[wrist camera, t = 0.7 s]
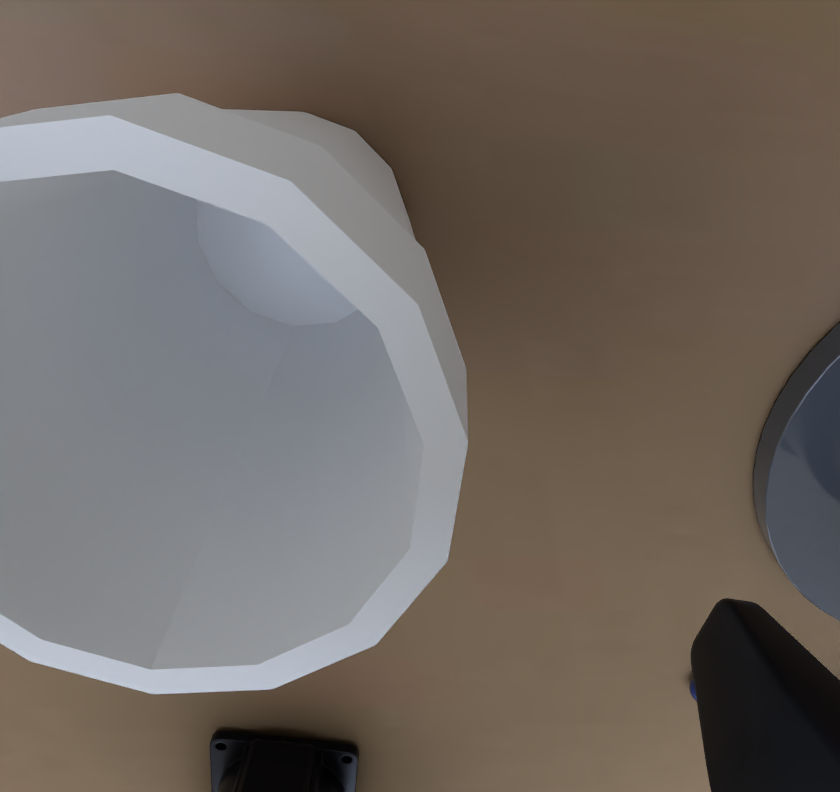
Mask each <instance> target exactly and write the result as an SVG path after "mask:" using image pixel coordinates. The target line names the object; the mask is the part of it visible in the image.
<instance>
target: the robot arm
mask: <svg viewBox="0 0 840 792" xmlns="http://www.w3.org/2000/svg"><path fill="white" fill-rule="evenodd" d="M691 665H692V672H693V679H694V685H695V692H696V699H697V705H698V712H699V719H700V726H701V732H702V739H703V746H704V752H705V759H706V766H707V771H708V777H709V782H710V788H711V792H840V681H839V680H838V679H837V678H836V677H835V676H834V675H833V674H832V673H831V672H830V671H829V670H828V669H827V668H826V667H825V666H823V665H822V664H821V663H820V662H819V661H818V660H817V659H816V658H815V657H814V656H813V655H812V654H811V653H810V652H809V651H808V650H806V649H805V648H804V647H803V646H802V645H801V644H800V643H799V642H798V641H797V640H796V639H795V638H794V637H793V636H792V635H791V634H789V633H788V632H787V631H786V630H785V629H784V628H783V627H782V626H781V625H780V624H779V623H778V622H777V621H776V620H775V619H774V618H772V617H771V616H770V615H769V614H768V613H767V612H766V611H765V610H764V609H763V608H762V607H760V606H759V605H758V604H756V603H753V602H749V601H742V600H735V599H728V598H726V599H722V600H720V601H719V602H717V604H716V605H715V606H714V608H713V610H712V611H711V613H710V615H709V616H708V618H707V620H706V621H705V623H704V625H703V626H702V628H701V630H700V631H699V633H698V635H697V636H696V638H695V640H694V642H693V645H692V649H691ZM358 758H359V750H358V749H357V748H356V747H355V746H353V745H349V744H341V743H332V742H322V741H313V740H304V739H294V738H285V737H275V736H266V735H257V734H247V733H238V732H228V731H218V732H215V733H214V734H213V736H212V739H211V742H210V763H211V786H212V792H355V788H356V778H357V768H358Z"/></svg>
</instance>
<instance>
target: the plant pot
mask: <svg viewBox="0 0 840 792" xmlns="http://www.w3.org/2000/svg"><path fill="white" fill-rule="evenodd" d="M753 486H754V503H755V508H756V513H757V518H758V522H759V525H760V528H761V530H762V533H763V535H764V538H765V540H766V542H767V544H768V546H769V548H770V549H771V551H772V553H773V554H774V556H775V558H776V560H777V561H778V563H779V565H780V566H781V568H782V569H783V571H784V573H785V574H786V576H787V578H788V579H789V580H790V582H791V583H792V584H793V585H794V586H795V587H796V588H797V589H798V590H799V592H800V593H801V594H802V595H803V596H804V597H805V598H807V599H808V600H809V601H810V602H812V603H813V604H814V605H815V606H817V607H818V608H819V609H820V610H822V611H824V612H825V613H827V614H829V615H830V616H832V617H834V618H836V619H837V620H839V621H840V323H839V324H838V325H836V326H835V327H834V328H833V329H832V330H831V331H830V332H829V333H828V334H827V335H826V336H825V337H824V338H823V339H822V340H821V341H820V342H819V343H818V344H817V345H816V346H815V347H814V348H813V350H812V351H811V352H810V353H809V354H808V356H807V357H806V358H805V359H804V361H803V362H802V363H801V364H800V366H799V367H798V368H797V369H796V371H795V372H794V373H793V375H792V376H791V377H790V379H789V381H788V382H787V384H786V386H785V387H784V389H783V390H782V392H781V394H780V395H779V397H778V399H777V400H776V402H775V404H774V406H773V409H772V411H771V413H770V415H769V417H768V420H767V422H766V424H765V426H764V429H763V433H762V436H761V439H760V443H759V446H758V449H757V454H756V461H755V468H754V475H753Z"/></svg>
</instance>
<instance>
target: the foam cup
mask: <svg viewBox="0 0 840 792" xmlns="http://www.w3.org/2000/svg"><path fill="white" fill-rule="evenodd" d="M467 447H468V416H467V384H466V367H465V364H464V361H463V358H462V355H461V352H460V350H459V347H458V344H457V341H456V338H455V335H454V332H453V329H452V326H451V324H450V321H449V318H448V315H447V312H446V309H445V306H444V303H443V301H442V298H441V295H440V292H439V289H438V286H437V283H436V280H435V277H434V275H433V272H432V269H431V266H430V263H429V260H428V257H427V254H426V252H425V249H424V248H423V247H422V246H421V245H420V244H419V243H418V242H417V241H416V240H415V236H414V233H413V230H412V226H411V223H410V220H409V217H408V214H407V211H406V208H405V205H404V203H403V200H402V197H401V194H400V191H399V188H398V185H397V183H396V180H395V177H394V174H393V171H392V169H391V167H390V166H389V165H388V164H387V163H386V162H385V161H384V160H383V159H382V158H381V157H380V156H379V155H378V154H377V153H376V152H375V151H374V150H373V149H372V148H371V147H370V146H369V145H368V144H367V143H366V142H365V141H364V139H363V138H362V137H361V136H360V135H359V134H358V133H357V132H356V131H354V130H352V129H349V128H346V127H344V126H341V125H338V124H336V123H333V122H331V121H328V120H325V119H323V118H320V117H317V116H315V115H312V114H309V113H307V112H306V113H305V112H296V111H264V110H232V109H220V108H217V107H215V106H212V105H209V104H207V103H204V102H201V101H198V100H196V99H193V98H190V97H188V96H185V95H182V94H180V93H173V94H165V95H156V96H147V97H138V98H129V99H121V100H112V101H103V102H94V103H85V104H77V105H68V106H59V107H50V108H41V109H34V110H30V111H26V112H22V113H18V114H14V115H10V116H7V117H3V118H0V643H1V644H3V645H4V646H6V647H8V648H9V649H11V650H12V651H14V652H16V653H17V654H19V655H21V656H22V657H24V658H25V659H27V660H29V661H31V662H35V663H38V664H42V665H46V666H50V667H53V668H57V669H61V670H64V671H68V672H72V673H76V674H79V675H83V676H87V677H90V678H94V679H98V680H102V681H105V682H109V683H113V684H116V685H120V686H124V687H127V688H131V689H135V690H139V691H142V692H146V693H150V694H172V693H196V692H220V691H244V690H268V689H274V688H276V687H279V686H281V685H283V684H286V683H288V682H291V681H293V680H295V679H298V678H300V677H302V676H305V675H307V674H309V673H312V672H314V671H316V670H319V669H321V668H323V667H326V666H328V665H330V664H333V663H335V662H337V661H340V660H342V659H344V658H347V657H349V656H351V655H354V654H356V653H358V652H361V651H363V650H365V649H368V648H370V647H372V646H375V645H376V644H377V643H378V642H379V641H380V639H381V638H382V637H383V636H384V635H385V634H386V632H387V631H388V630H389V629H390V628H391V627H392V625H393V624H394V623H395V622H396V621H397V620H398V618H399V617H400V616H401V615H402V614H403V613H404V611H405V610H406V609H407V608H408V607H409V606H410V604H411V603H412V602H413V601H414V600H415V599H416V597H417V596H418V595H419V594H420V593H421V592H422V590H423V589H424V588H425V587H426V586H427V585H428V583H429V582H430V581H431V580H432V579H433V578H434V576H435V575H436V574H437V573H438V572H439V571H440V569H441V568H442V567H443V566H444V565H445V564H446V562H447V561H448V556H449V550H450V544H451V539H452V533H453V527H454V521H455V516H456V510H457V504H458V499H459V493H460V487H461V481H462V476H463V470H464V464H465V459H466V453H467Z"/></svg>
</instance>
